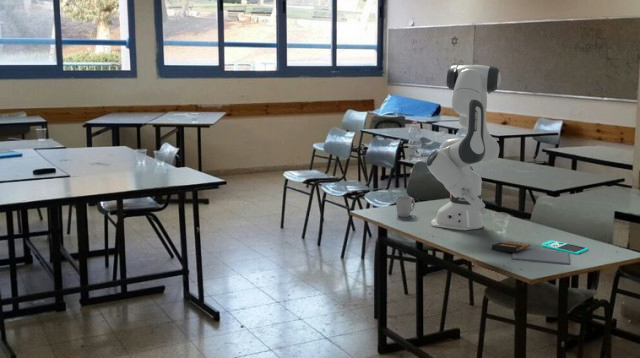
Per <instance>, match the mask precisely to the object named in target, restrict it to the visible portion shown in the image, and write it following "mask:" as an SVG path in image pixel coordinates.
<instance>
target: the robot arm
mask: <svg viewBox="0 0 640 358" xmlns="http://www.w3.org/2000/svg"><path fill="white" fill-rule="evenodd" d="M501 81H502V76H501V72H500V69H499V68H498V67H497V66H492V65H490V66H488V65H481V64H461V65H459V64H454V65H451V66H450V67H449V68H448V69H447V72H446V74H445V83H446V87H447V88H448V89H449V90H451V91H453V92H452V97H451V98H452V99H451V107H452V109H453V111H454V112H455V113H456V114H457V115H459V117H458V119H459V120H458V122H459V124H460V126H461V127H462V128H464V129H465V130H466V133H465V135H464V137H453V138H450V139H445V140H444V141H443V142H442V144H441V147H440V149H435V150H433V151H432V152H431V153H430V154H429V156H428V158H427V159H426V167H427V169H428V170H429V172H430V174H432V175H433V176H434V178H435V179H436V180H437V181H438V182H440V183H441V184H442V185H443V186H444V188H445V189H446V191H448V192H449V193H450V194H449V196H450V197H449V200H450V201H449V202H447V203H446V204H444V205H443V206H441V207H440V208H439V209H438V211H437V213H436V217H434V218H433V219H432V220H431V222H430V223H431V226H432V227H437V228H444V229H451V230H458V231H469V230H476V229H481V228H483V227H484V224H483V219H482V218H483V217H482V214H483V215H484V214H486V213H488V210H487V209H486V208H485V207H486V204H485V203H484V201H483V195H482V177H481V175H480V174H479V173H478V172H476V171H474V170H472V169H471V165H473V164H476V163H479V164H481V163H488V162H492V161H495V160H496V159H497V158H498V157H499V154H500V145H499V143H498V141H497V140H496V139H495V138H493V136H492V135H491V133H490V132H489V130H488V126H487V107H488V95H490V94H491V93H493V92H495V91H497V90H498V88H499V87H500V85H501Z"/></svg>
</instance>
